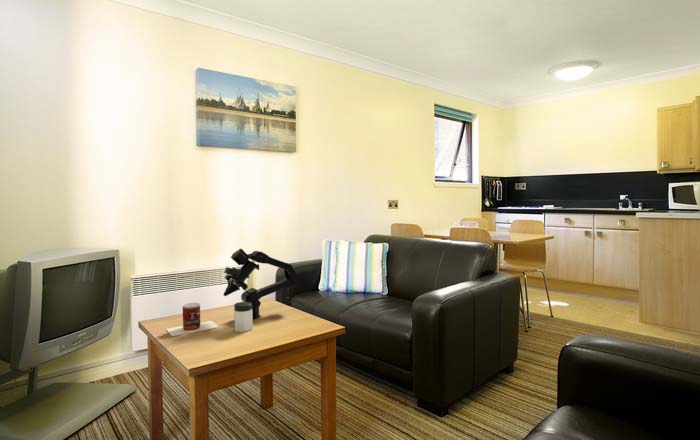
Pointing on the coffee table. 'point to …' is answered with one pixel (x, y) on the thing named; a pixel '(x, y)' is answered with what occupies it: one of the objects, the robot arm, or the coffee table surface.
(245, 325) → the jar
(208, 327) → the letter mat
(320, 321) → the coffee table surface
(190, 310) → the canned food
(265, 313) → the coffee table surface
